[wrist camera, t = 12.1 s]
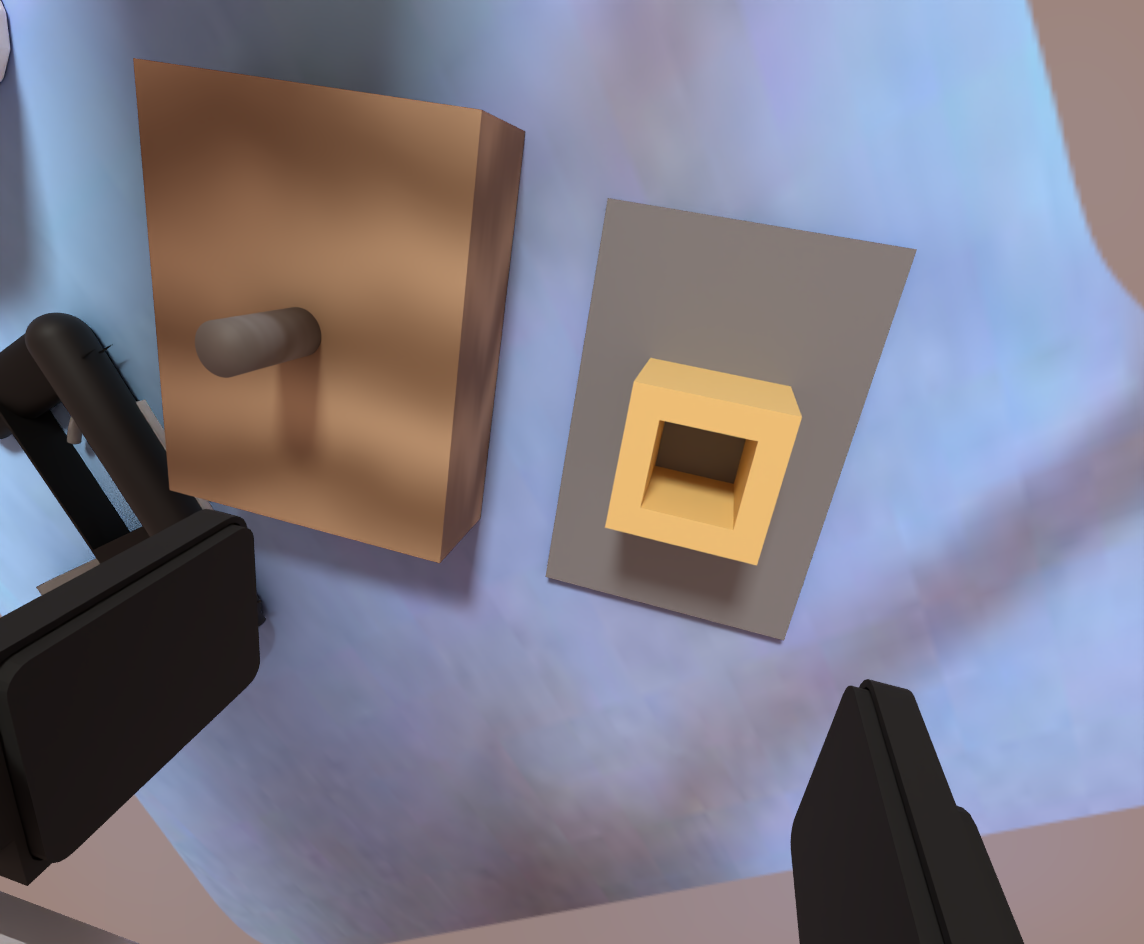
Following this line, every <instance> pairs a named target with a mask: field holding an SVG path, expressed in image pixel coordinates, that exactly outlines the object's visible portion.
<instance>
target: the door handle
mask: <svg viewBox="0 0 1144 944" xmlns="http://www.w3.org/2000/svg"><path fill="white" fill-rule="evenodd" d="M110 346H111V345H110ZM110 346H108V347H106V348H105V349H103V348H102V346H101V344H100V343H99V341H98V340H97V338H96V336H95V335H94V333H93V332H92V330H91V329H90V327H89V326H88V325H87V324H86V323H84V322H83V321H82V320H80V319H78V318H77V317H74V316H72V315H69V314H64V313H48V314H44V315H42V316H39V317H37V318H36V319H34V320H33V321H32V322H31V323H30V324H29V326H28V327H27V330H26V333H25V334H24V335H22V336H21V337H20V338H19V339H17V340H16V341H15V342H13V343H12V344H11V345H9V346H8V347H7V348H5V349H4V350H3V351H2V352H0V439H3V438H6V437H8V436H10V435H11V434H13V436H14V437H15V439H16V440H17V441H18V443H19V444H20V446H21V447H22V449H23V450H24V452H25V453H26V455H27V456H28V458H29V459H30V461H31V462H32V464H33V465H34V467H35V468H36V470H37V471H38V472H39V474H40V475H41V477H42V478H43V480H44V481H45V483H46V484H47V486H48V487H49V489H50V490H51V492H52V493H53V495H54V496H55V498H56V499H57V501H58V502H59V503H60V505H61V506H62V508H63V509H64V511H65V512H66V514H67V515H68V517H69V518H70V520H71V521H72V523H73V524H74V526H75V527H76V529H77V530H78V532H79V533H80V535H81V536H82V537H83V539H84V540H85V542H86V543H87V545H88V546H89V548H90V549H91V551H92V553H93V554H94V555H95V557H96V559H94V560H91V561H89V562H87V563H85V564H83V565H81V566H79V567H76V568H74V569H72V570H70V571H68V572H66V573H64V574H61V575H59V576H57V577H55V578H53V579H51V580H49V581H47V582H45V583H43V584H41V585H39V586H37V587H36V588H37V589H38V591H39V592H40V593H41V595H44V594H46V593H47V592H49V591H51V590H53V589H55V588H57V587H59V586H60V585H62V584H64V583H66V582H68V581H70V580H72V579H73V578H75V577H77V576H79V575H81V574H83V573H85V572H86V571H88V570H90V569H92V568H94V567H96V566H98V565H99V564H101V563H103V562H105V561H107V560H109V559H111V558H112V557H114V556H116V555H118V554H120V553H122V552H124V551H125V550H127V549H129V548H131V547H133V546H135V545H137V544H138V543H140V542H142V541H144V540H146V539H148V538H150V537H151V536H153V535H155V534H157V533H159V532H161V531H163V530H164V529H166V528H168V527H170V526H172V525H174V524H176V523H177V522H179V521H181V520H183V519H185V518H187V517H189V516H191V515H192V514H194V513H196V512H198V511H200V510H203V509H211V510H214V509H213V508H212V506H211V505H210V503H209V501H208V500H205V499H201V498H197V497H194V496H190V495H186V494H182V493H179V492H175V491H171V490H170V489H169V477H168V465H167V453H166V441H165V431H164V429H163V428H162V426H161V425H160V423H159V421H158V420H157V418H156V416H155V415H154V413H153V412H152V410H151V408H150V407H149V405H148V404H147V402H146V400H141V401H138V402H136V400H135V399H134V397H133V396H132V394H131V392H130V391H129V389H128V388H127V386H126V384H125V383H124V381H123V380H122V378H121V376H120V375H119V373H118V372H117V370H116V368H115V367H114V365H113V364H112V362H111V360H110V359H109V357H108V356H107V354H106V352H105V351H106V350H107V349H108V348H109V347H110ZM61 401H62V403H63V405H64V406H65V408H66V409H67V411H68V412H69V414H70V415H71V418H70V421H69V426H68V432H67V436H66V434H65V433H64V431H63V430H62V428H61V427H60V425H59V424H58V422H57V421H56V419H55V418H54V416H53V415H52V413H51V412H50V410H49V409H51V408H52V407H54V406H55V405H57V404H58V403H60V402H61ZM82 434H83V435H84V437H85V438H86V440H87V441H88V443H89V444H90V446H91V448H92V449H93V451H94V452H95V454H96V455H97V457H98V458H99V460H100V461H101V463H102V464H103V466H104V467H105V469H106V471H107V472H108V474H109V475H110V477H111V478H112V480H113V481H114V483H115V484H116V486H117V487H118V489H119V490H120V492H121V494H122V495H123V497H124V498H125V500H126V501H127V503H128V504H129V506H130V507H131V509H132V510H133V512H134V514H135V515H136V517H137V518H138V520H139V521H140V523H141V524H142V527H140V528H138V529H136V530H134V531H132V532H129V530H128V529H127V527H126V526H125V524H124V523H123V521H122V520H121V518H120V516H119V515H118V513H117V512H116V510H115V509H114V507H113V506H112V504H111V503H110V501H109V500H108V498H107V497H106V495H105V494H104V492H103V491H102V489H101V488H100V486H99V485H98V483H97V482H96V480H95V478H94V477H93V475H92V474H91V472H90V471H89V469H88V468H87V466H86V465H85V463H84V462H83V460H82V459H81V457H80V456H79V454H78V453H77V451H76V450H75V448H74V447H73V445H72V444H79V443H81V439H82ZM257 612H258V627H259V626H261V625H262V624H263V623H264V622H265V620H266V618H265V617H264V615H263V613H262V612H261V600H260V599H259V597H258V596H257Z"/></svg>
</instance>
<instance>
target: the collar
mask: <svg viewBox="0 0 1144 944" xmlns="http://www.w3.org/2000/svg"><path fill="white" fill-rule="evenodd" d="M801 419H802V415H801V413H800V410H799V407H798V405H797V402H796V399H795V396H794V394H793V391H792V388H791V386H786V385H781V384H776V383H771V382H767V381H762V380H757V379H752V378H747V377H742V376H737V375H732V374H727V373H722V372H718V371H713V370H708V369H703V368H698V367H693V366H688V365H683V364H678V363H673V362H669V361H664V360H659V359H654V358H650V359H649V360H648V362H647V363H646V365H645V366H644V368H643V369H642V370H641V372H640V373H639V375H638V376H637V378H636V379H635V380H634V383H633V388H632V393H631V398H630V403H629V408H628V413H627V418H626V423H625V429H624V434H623V439H622V444H621V449H620V454H619V459H618V464H617V469H616V474H615V479H614V484H613V489H612V494H611V499H610V505H609V510H608V515H607V520H606V525H605V528H609V529H613V530H617V531H621V532H625V533H629V534H633V535H637V536H641V537H645V538H649V539H653V540H657V541H661V542H665V543H669V544H673V545H677V546H681V547H685V548H689V549H693V550H697V551H701V552H705V553H709V554H713V555H717V556H721V557H725V558H729V559H733V560H737V561H741V562H745V563H749V564H753V565H757V563H758V560H759V557H760V554H761V550H762V547H763V544H764V540H765V537H766V534H767V531H768V527H769V524H770V521H771V517H772V514H773V511H774V508H775V504H776V501H777V498H778V494H779V491H780V488H781V485H782V481H783V478H784V475H785V471H786V468H787V465H788V462H789V458H790V455H791V452H792V448H793V445H794V442H795V438H796V435H797V432H798V429H799V425H800V422H801ZM665 421H667V422H671V423H676V424H681V425H685V426H690V427H694V428H699V429H703V430H708V431H713V432H717V433H722V434H726V435H731V436H735V437H740V438H744V439H746V441H745V444H744V448H743V452H742V455H741V459H740V463H739V466H738V470H737V474H736V477H735V481H734V484H732V483H727V482H723V481H719V480H714V479H710V478H706V477H701V476H697V475H693V474H688V473H684V472H680V471H675V470H671V469H667V468H662V467H658V466H655V464H656V459H657V455H658V450H659V446H660V441H661V437H662V432H663V428H664V423H665Z"/></svg>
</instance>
